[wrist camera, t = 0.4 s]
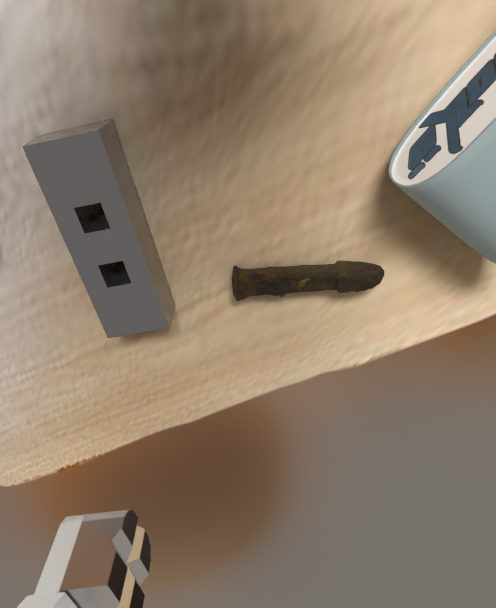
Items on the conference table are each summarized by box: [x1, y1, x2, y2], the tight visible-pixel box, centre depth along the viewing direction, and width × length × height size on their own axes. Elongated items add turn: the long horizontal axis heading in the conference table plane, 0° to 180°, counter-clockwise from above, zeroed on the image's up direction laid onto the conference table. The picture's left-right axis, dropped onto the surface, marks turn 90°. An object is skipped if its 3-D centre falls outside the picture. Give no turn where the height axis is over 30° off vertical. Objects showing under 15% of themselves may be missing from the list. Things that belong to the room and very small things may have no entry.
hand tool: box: [232, 261, 384, 301], centre depth 58 cm, size 19×4×5 cm, turn 92°
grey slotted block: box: [23, 119, 175, 338], centre depth 54 cm, size 24×8×6 cm, turn 11°
